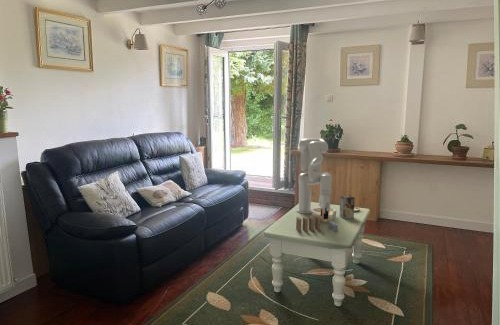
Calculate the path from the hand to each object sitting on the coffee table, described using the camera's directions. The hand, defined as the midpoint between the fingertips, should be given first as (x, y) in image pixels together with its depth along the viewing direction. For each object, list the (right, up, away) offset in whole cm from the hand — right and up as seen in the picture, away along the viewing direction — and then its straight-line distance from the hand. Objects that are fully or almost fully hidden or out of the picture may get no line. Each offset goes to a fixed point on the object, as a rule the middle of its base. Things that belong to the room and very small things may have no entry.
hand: (324, 217), depth 247 cm
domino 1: (-18, -9, -1) cm, 20 cm away
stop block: (+7, -9, +3) cm, 11 cm away
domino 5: (0, -2, 0) cm, 2 cm away
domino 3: (-9, -9, 0) cm, 13 cm away
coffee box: (+23, -4, +29) cm, 37 cm away
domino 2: (-13, -9, 0) cm, 16 cm away
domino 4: (-5, -9, +1) cm, 10 cm away
